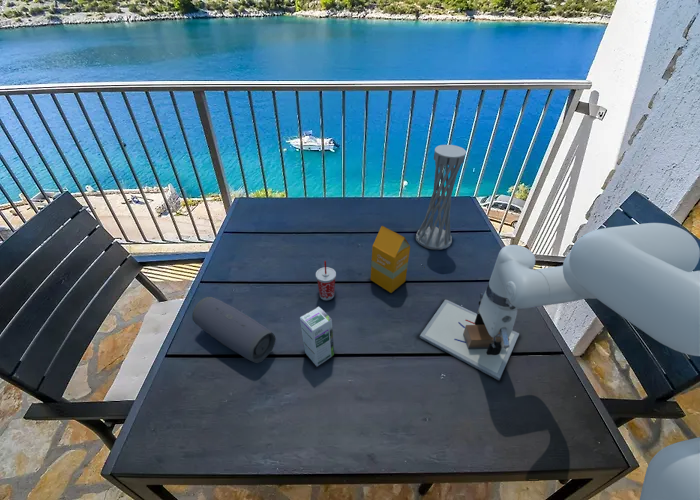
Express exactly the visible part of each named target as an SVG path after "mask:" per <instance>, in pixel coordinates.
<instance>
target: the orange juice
mask: <svg viewBox="0 0 700 500" xmlns="http://www.w3.org/2000/svg"><path fill="white" fill-rule="evenodd" d="M374 239H375V240H374V241H373V244H372V245H371V246H372V247H371V259H370V261H371V262H370V281H371V282H372V283H375V284H376V285H378V286H379V287H381V288H382V289H384V290H386V291H387V292H389V293H390V294H392V293H393V292H395V290H397V289H398V288H400V287H401V286H402V285H404V283H405V282H406V279H407V273H408V267H409V259H410V253H411V252H410V251H411V245H410V243H409V241H408V240H407V238H406V237H405V236H403V235H402V234H399V233H398V232H395V231H394V230H392V229H390V228H388V227H386V226H384V225H381V226H380V228H379V231H378V233H377V235H376V237H375V238H374Z"/></svg>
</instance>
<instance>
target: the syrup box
mask: <svg viewBox="0 0 700 500" xmlns="http://www.w3.org/2000/svg"><path fill="white" fill-rule="evenodd" d="M299 324H300V329H301V335H302V343H303V349H304V353H305V354H306V356H307V357H308V358H309V359H310V361H311V362H312V363H313V364H314V365H315V366H316V367H319V366H320V365H322V364H323V363H325V362H326V361H328V360H329V359H330V358H332V357H333V356H335V348H334V346H335V345H334V333H333V332H334V330H333V319H332V318H331V316H329V315H328V313H326V312H325V310H323V309H322V308H321V307H320V306H317V307H315V308H314V309H312V310H310V311H308V312H307V313H305V314H303V315H301V316H300V317H299Z"/></svg>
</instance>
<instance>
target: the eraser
mask: <svg viewBox="0 0 700 500" xmlns="http://www.w3.org/2000/svg"><path fill="white" fill-rule="evenodd" d="M498 334H500V332H499V333H498ZM463 336H464V339H465V342H466V345H467V347H468V349H488V347H489V344H490V343H492V338H491V336H490V335H489V333H488V331H487V329H486V326H485V325H466V326H465V329H464V333H463ZM508 340H509V337H508ZM496 342H500V337H496Z"/></svg>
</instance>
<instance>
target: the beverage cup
mask: <svg viewBox="0 0 700 500" xmlns="http://www.w3.org/2000/svg"><path fill="white" fill-rule="evenodd" d="M323 265H324V267H321V268H318V269H317V270H316V272H315V278H316V281H317V288H318V294H319V298H320V299H321V300H323V301H330V300H332V299H333V298H334V297H335V289H336V278H337V272H336V270H335V269H334V268H332V267H329V266H327V260H324V264H323Z"/></svg>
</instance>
